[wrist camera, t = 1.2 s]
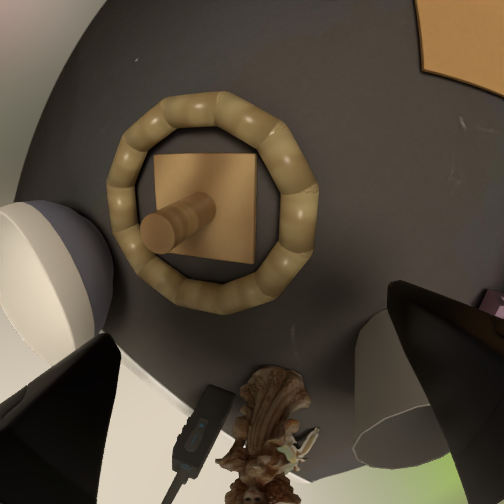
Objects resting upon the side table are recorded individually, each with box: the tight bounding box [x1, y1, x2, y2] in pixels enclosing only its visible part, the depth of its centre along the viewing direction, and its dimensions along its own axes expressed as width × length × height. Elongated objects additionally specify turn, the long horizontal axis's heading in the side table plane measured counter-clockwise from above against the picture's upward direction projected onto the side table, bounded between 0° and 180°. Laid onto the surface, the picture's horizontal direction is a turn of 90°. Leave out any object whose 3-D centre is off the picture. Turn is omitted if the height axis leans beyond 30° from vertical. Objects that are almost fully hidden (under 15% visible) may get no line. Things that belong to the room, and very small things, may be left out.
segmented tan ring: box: [106, 91, 319, 315], centre depth 20 cm, size 17×17×2 cm
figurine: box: [215, 366, 311, 504], centre depth 20 cm, size 7×6×15 cm
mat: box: [414, 0, 504, 97], centre depth 9 cm, size 14×14×1 cm
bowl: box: [0, 200, 114, 366], centre depth 23 cm, size 16×16×10 cm
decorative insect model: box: [277, 427, 320, 475], centre depth 29 cm, size 9×11×5 cm
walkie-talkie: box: [161, 385, 235, 504], centre depth 21 cm, size 5×3×20 cm
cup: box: [352, 309, 450, 469], centre depth 17 cm, size 8×8×10 cm
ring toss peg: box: [140, 153, 257, 264], centre depth 18 cm, size 8×8×7 cm
